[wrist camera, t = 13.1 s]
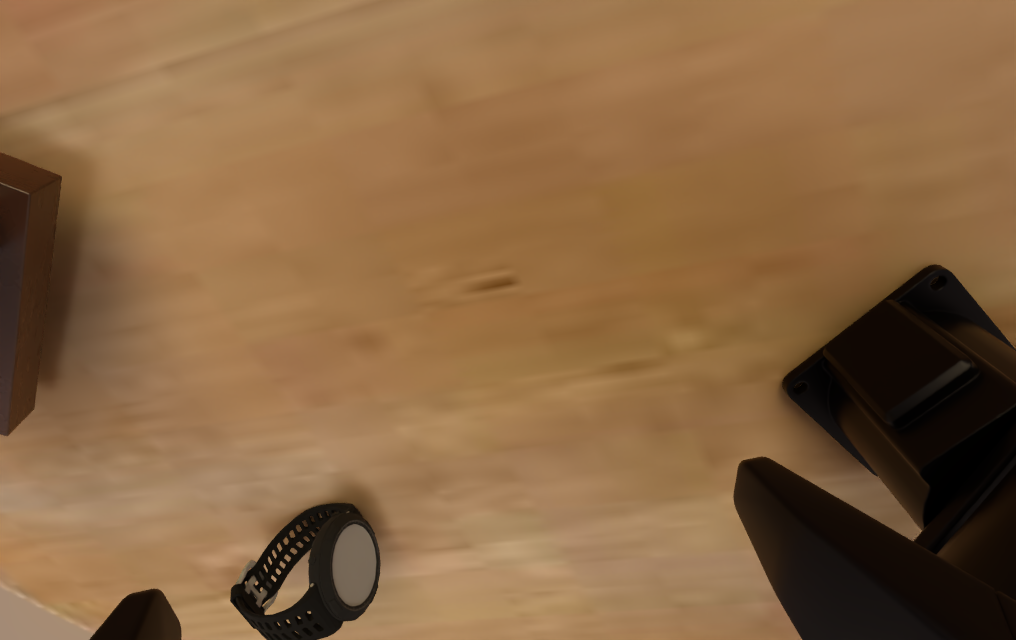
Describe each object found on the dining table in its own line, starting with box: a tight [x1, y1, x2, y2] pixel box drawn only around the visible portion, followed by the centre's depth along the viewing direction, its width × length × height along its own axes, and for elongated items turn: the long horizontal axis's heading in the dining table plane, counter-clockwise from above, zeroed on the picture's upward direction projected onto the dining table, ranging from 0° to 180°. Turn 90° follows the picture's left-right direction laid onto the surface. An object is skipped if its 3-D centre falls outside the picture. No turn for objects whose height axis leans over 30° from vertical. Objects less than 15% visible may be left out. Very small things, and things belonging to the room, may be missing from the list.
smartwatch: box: [230, 503, 380, 640], centre depth 23 cm, size 4×5×5 cm
